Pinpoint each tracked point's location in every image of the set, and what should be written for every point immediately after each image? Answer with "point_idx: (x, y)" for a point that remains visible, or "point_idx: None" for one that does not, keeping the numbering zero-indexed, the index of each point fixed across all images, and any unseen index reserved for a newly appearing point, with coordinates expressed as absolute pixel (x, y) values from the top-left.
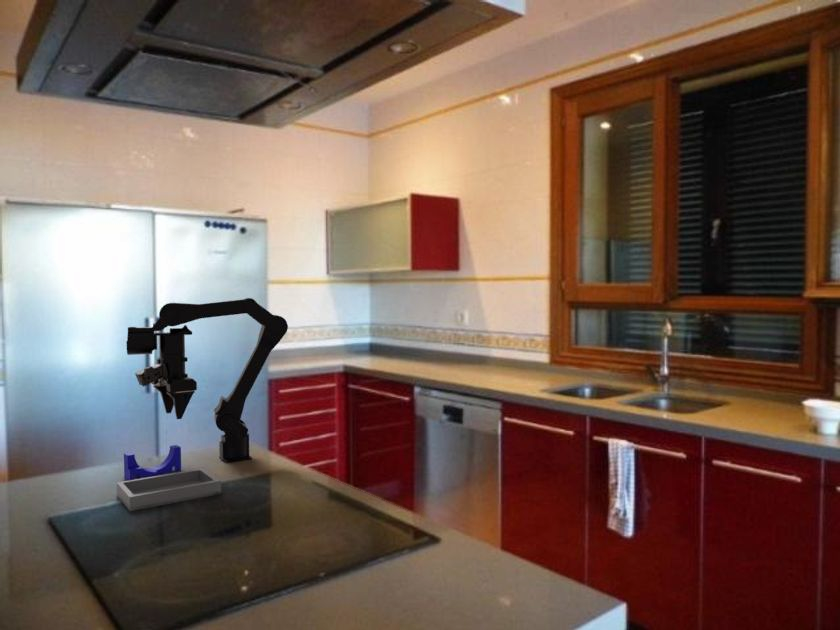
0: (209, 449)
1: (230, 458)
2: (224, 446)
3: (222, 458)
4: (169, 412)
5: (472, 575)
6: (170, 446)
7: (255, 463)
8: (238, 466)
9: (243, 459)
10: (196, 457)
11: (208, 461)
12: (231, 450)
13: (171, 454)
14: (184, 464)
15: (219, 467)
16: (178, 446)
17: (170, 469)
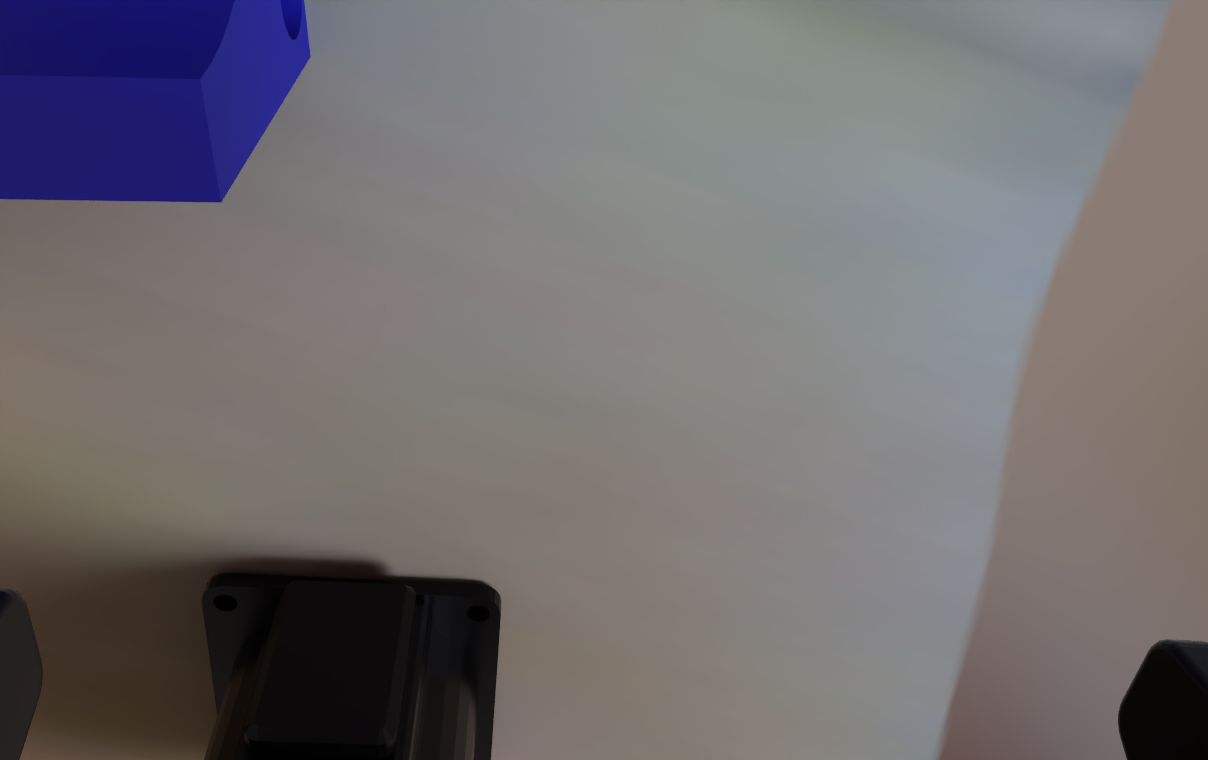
0: (936, 630)
1: (260, 635)
2: (251, 710)
3: (302, 582)
4: (1140, 704)
5: None
6: (172, 75)
7: (49, 728)
8: None
9: (219, 705)
10: (707, 431)
11: (424, 462)
12: (230, 716)
13: (80, 6)
14: (471, 214)
15: (69, 457)
16: (50, 186)
17: None
